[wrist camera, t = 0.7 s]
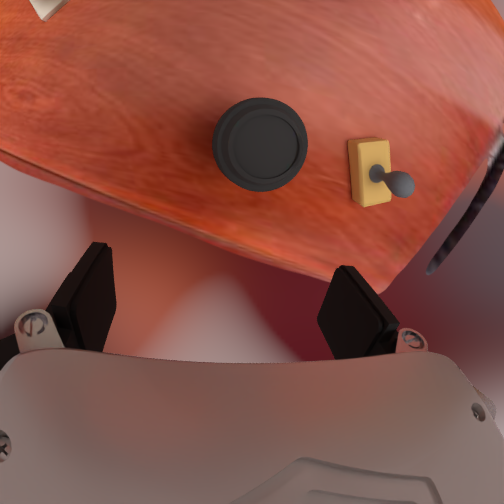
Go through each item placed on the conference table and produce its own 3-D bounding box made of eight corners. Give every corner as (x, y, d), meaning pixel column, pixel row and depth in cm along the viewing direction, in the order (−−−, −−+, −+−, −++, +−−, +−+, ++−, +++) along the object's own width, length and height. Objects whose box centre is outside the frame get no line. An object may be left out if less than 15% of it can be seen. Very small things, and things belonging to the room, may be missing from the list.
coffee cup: (206, 163, 36) (206, 191, 23) (216, 100, 32) (222, 87, 19) (269, 171, 38) (304, 203, 25) (281, 110, 34) (325, 108, 21)
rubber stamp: (346, 140, 38) (392, 152, 27) (376, 137, 38) (426, 149, 27) (351, 200, 42) (393, 229, 32) (380, 194, 43) (424, 220, 32)
